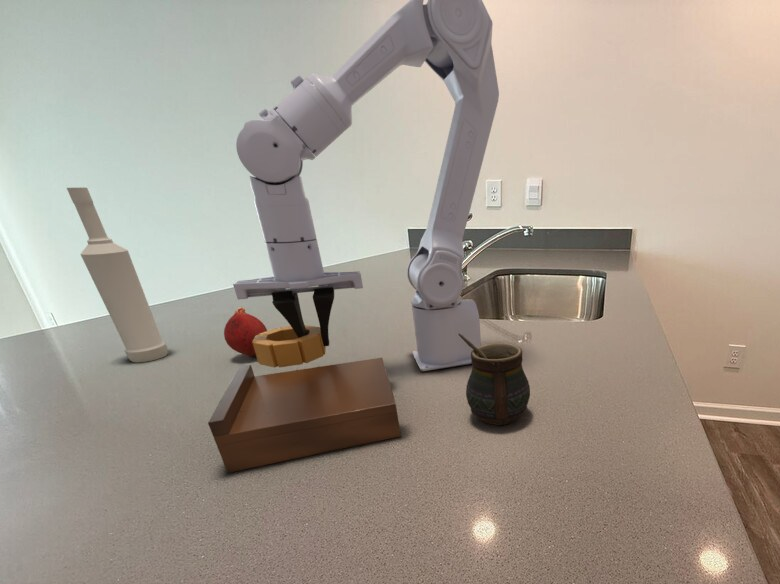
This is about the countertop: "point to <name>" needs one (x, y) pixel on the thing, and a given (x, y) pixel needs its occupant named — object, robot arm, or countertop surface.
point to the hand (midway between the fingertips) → (316, 345)
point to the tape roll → (288, 347)
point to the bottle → (118, 285)
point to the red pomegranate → (243, 332)
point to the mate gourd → (497, 383)
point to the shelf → (303, 413)
